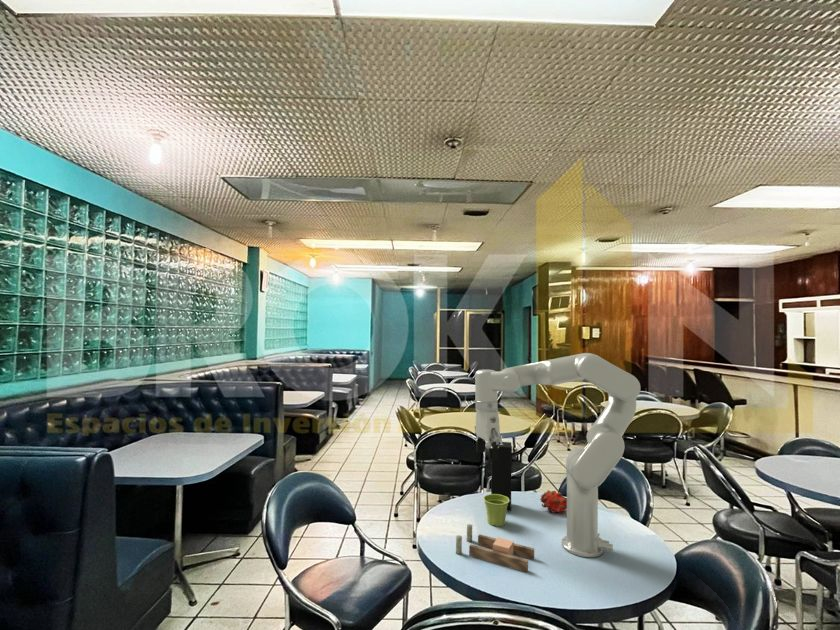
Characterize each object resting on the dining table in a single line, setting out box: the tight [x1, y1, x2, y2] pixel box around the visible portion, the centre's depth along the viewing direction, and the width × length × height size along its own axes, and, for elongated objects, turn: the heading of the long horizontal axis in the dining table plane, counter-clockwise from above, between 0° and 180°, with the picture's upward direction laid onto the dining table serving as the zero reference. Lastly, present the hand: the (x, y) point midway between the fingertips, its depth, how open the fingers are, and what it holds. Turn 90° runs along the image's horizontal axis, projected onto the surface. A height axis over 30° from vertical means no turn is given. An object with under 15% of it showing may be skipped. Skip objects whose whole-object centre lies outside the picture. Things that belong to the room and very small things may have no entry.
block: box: [492, 537, 514, 556], centre depth 131 cm, size 5×5×4 cm
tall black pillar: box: [490, 435, 513, 512], centre depth 170 cm, size 8×8×28 cm
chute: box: [455, 524, 535, 573], centre depth 132 cm, size 22×11×5 cm, turn 62°
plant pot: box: [483, 493, 510, 527], centre depth 155 cm, size 9×9×9 cm
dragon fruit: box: [539, 490, 567, 514], centre depth 166 cm, size 8×8×12 cm
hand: (486, 456), depth 145 cm, fingers open, 9 cm apart
